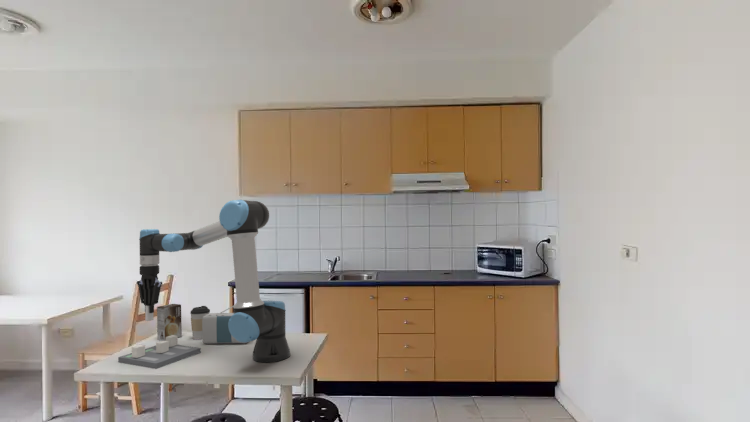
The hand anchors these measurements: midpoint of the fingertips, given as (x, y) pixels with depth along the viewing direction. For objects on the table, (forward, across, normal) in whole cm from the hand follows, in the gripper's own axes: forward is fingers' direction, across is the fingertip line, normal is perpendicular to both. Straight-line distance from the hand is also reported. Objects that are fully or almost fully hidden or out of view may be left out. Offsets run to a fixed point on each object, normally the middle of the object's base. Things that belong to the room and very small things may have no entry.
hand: (149, 320), depth 183 cm
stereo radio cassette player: (+15, +17, +28) cm, 36 cm away
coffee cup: (+15, -1, +29) cm, 33 cm away
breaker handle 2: (+12, +4, +8) cm, 15 cm away
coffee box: (+15, -15, +23) cm, 31 cm away
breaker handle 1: (+12, +4, -8) cm, 15 cm away
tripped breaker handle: (+12, +8, 0) cm, 15 cm away
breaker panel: (+15, +7, 0) cm, 16 cm away
